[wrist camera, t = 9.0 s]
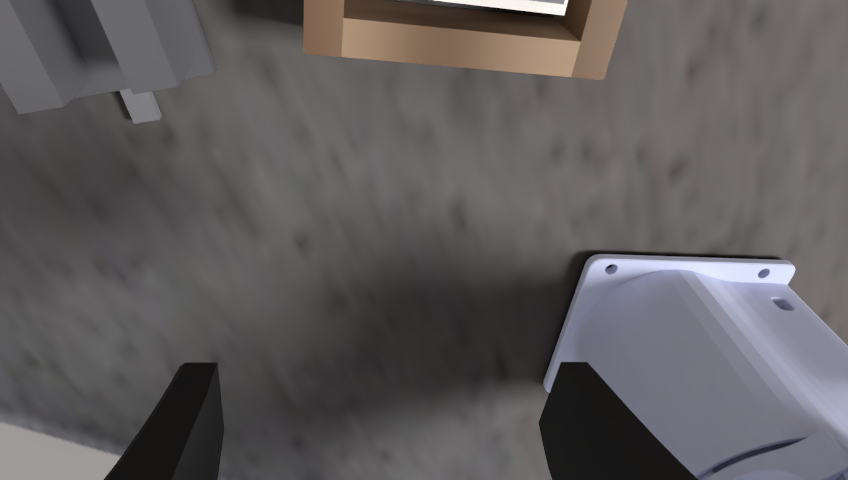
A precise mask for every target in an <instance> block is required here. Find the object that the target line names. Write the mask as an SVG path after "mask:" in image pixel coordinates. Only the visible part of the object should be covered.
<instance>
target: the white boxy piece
mask: <svg viewBox="0 0 848 480" xmlns="http://www.w3.org/2000/svg"><path fill="white" fill-rule="evenodd" d="M435 1H443V2H452V3H461V4H469V5H478V6H486V7H495V8H504V9H512V10H521V11H529V12H538V13H546V14H555V15H565V11H566V7H567V4H568V0H435Z"/></svg>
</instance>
